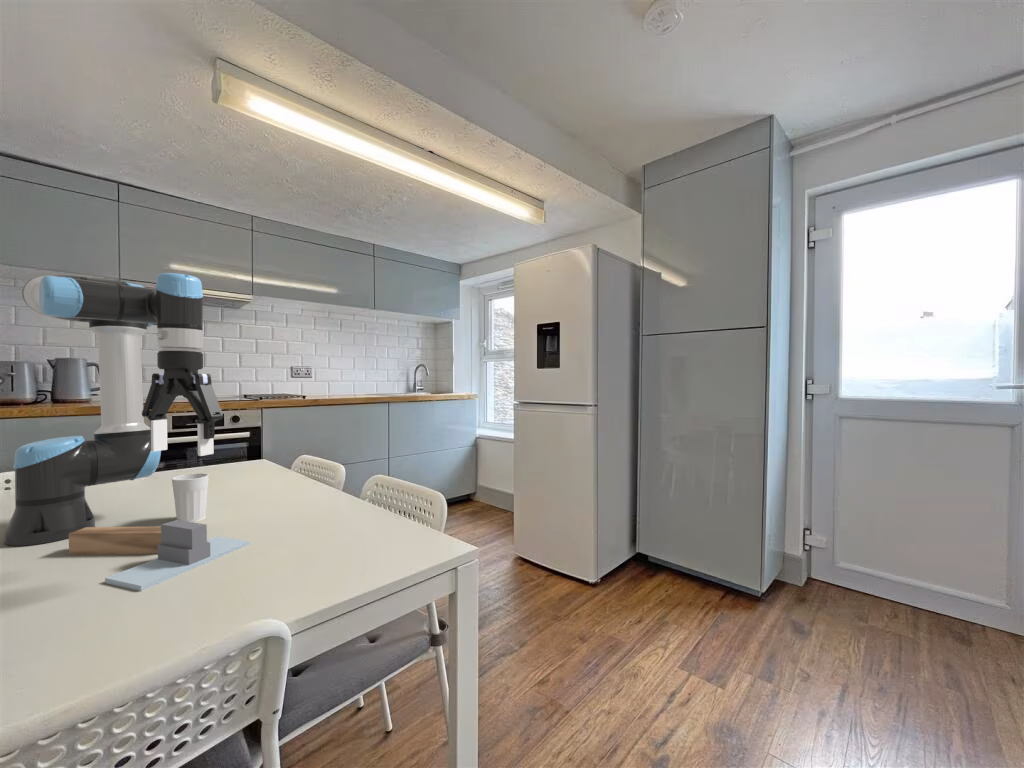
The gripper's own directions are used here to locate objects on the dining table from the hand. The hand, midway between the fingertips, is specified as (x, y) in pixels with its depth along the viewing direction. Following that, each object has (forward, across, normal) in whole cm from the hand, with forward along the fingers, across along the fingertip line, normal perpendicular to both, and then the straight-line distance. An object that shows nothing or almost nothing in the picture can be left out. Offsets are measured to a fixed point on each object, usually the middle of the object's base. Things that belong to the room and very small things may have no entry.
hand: (182, 452), depth 90 cm
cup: (+24, -24, +19) cm, 39 cm away
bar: (+24, -18, 0) cm, 30 cm away
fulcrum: (+23, 0, 0) cm, 23 cm away
